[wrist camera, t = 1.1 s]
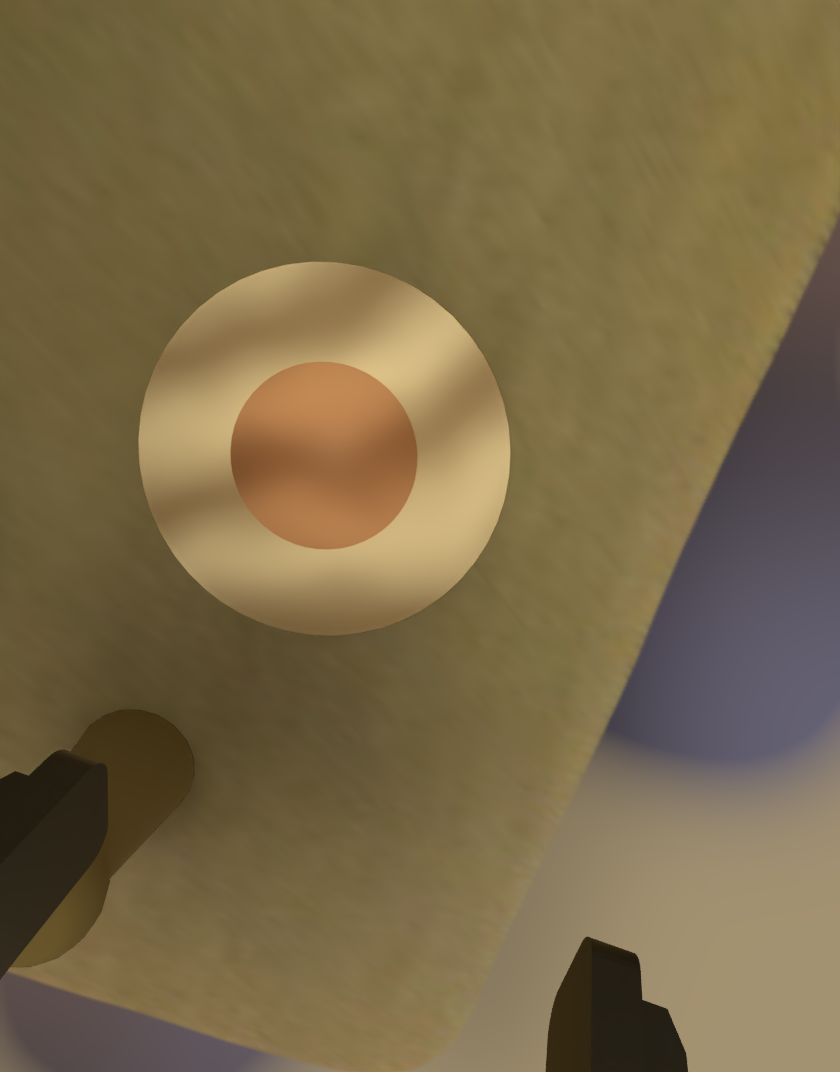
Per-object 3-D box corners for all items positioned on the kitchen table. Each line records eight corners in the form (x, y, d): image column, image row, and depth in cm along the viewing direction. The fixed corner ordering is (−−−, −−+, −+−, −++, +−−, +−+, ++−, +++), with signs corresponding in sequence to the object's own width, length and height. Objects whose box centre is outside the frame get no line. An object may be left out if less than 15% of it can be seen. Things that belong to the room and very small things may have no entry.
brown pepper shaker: (216, 789, 35) (124, 957, 24) (115, 837, 35) (-20, 1023, 25) (155, 689, 34) (32, 817, 23) (52, 740, 35) (-116, 889, 24)
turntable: (98, 367, 31) (67, 362, 29) (416, 212, 30) (416, 191, 27) (257, 669, 34) (242, 692, 31) (555, 537, 33) (568, 548, 30)
